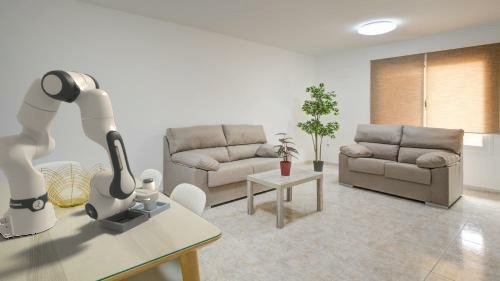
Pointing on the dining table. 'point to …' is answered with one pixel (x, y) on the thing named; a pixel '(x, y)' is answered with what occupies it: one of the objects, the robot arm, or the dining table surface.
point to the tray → (160, 208)
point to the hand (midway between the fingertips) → (150, 189)
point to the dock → (138, 219)
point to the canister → (149, 185)
